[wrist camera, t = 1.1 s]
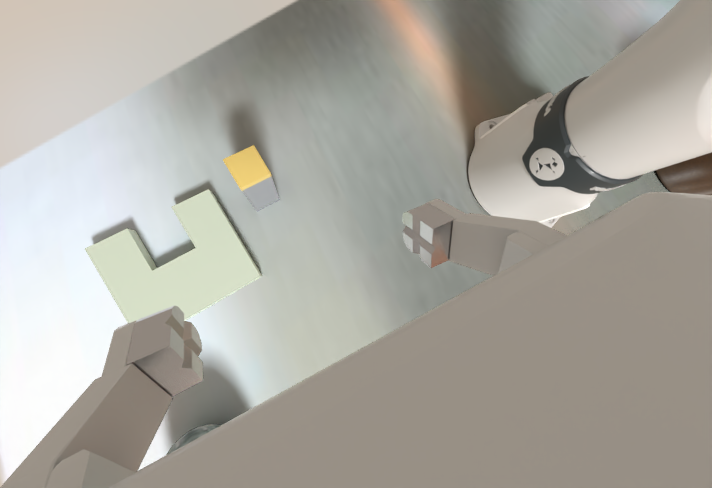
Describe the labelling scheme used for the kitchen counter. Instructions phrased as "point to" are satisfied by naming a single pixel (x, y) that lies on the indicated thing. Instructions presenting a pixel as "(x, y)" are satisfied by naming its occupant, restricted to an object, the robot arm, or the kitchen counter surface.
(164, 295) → the notched board
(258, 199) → the grey and yellow block
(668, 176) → the plant pot
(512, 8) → the kitchen counter surface
